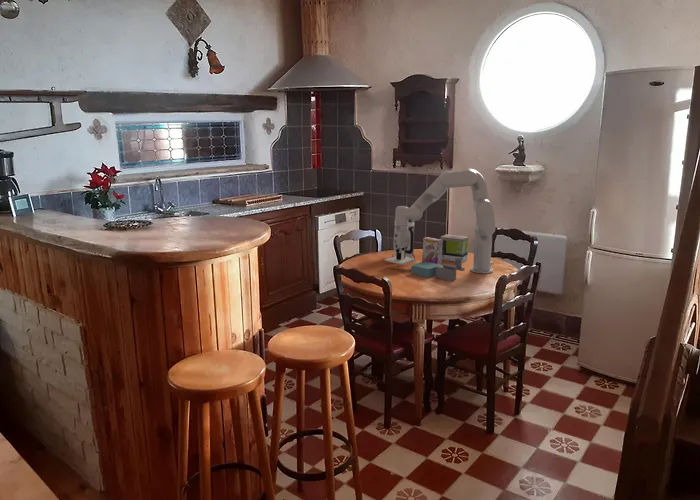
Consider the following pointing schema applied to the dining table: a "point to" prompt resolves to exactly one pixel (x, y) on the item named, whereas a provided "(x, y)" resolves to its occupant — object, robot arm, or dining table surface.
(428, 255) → the candy bar box
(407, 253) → the coffee press
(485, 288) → the dining table surface
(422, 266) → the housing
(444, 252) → the tea box
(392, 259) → the lid
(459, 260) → the bolt
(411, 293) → the dining table surface
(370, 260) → the dining table surface
